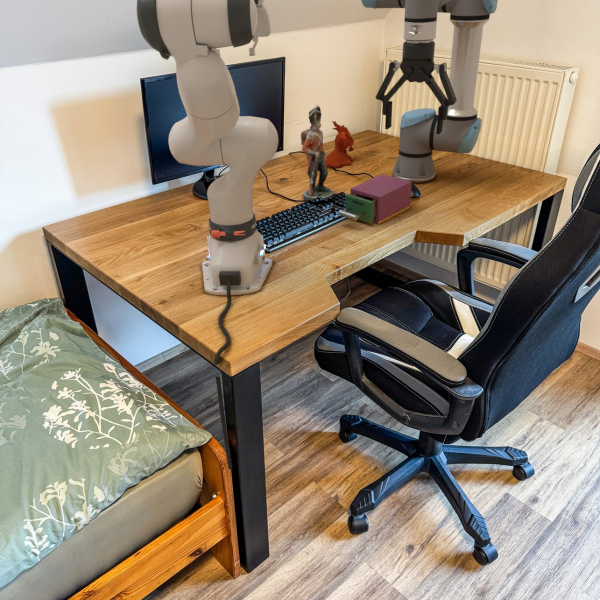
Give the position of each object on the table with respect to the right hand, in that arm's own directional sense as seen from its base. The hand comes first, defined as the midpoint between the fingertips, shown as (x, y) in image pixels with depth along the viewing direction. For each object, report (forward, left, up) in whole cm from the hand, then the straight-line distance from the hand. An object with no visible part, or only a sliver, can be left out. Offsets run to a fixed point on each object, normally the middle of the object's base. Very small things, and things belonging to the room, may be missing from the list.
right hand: (413, 130), depth 145 cm
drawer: (-9, -15, -29) cm, 34 cm away
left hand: (+7, -49, +17) cm, 52 cm away
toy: (-52, -47, -31) cm, 77 cm away
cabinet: (-15, -13, -31) cm, 37 cm away
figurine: (-17, -36, -31) cm, 51 cm away
